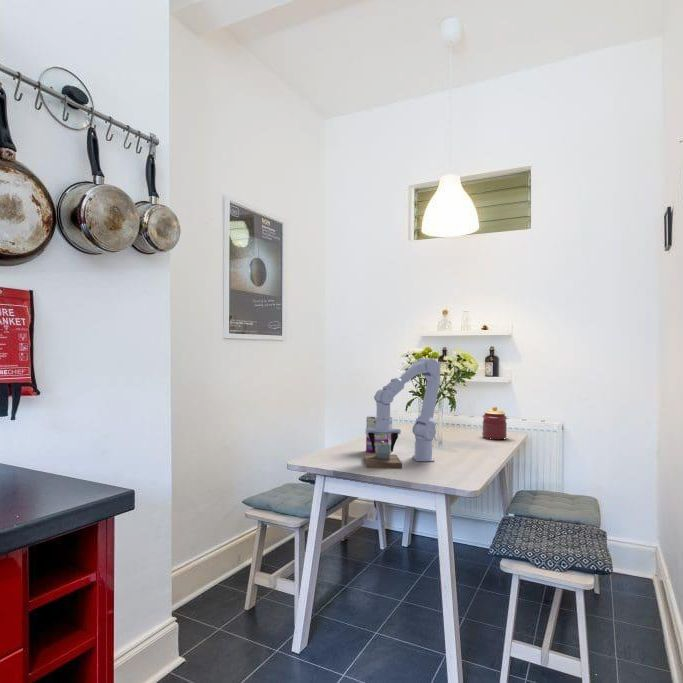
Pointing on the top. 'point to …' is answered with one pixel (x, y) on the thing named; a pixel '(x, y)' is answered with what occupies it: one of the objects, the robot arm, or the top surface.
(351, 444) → the top surface
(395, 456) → the stand
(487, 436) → the canister
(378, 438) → the candy bar box
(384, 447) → the housing
